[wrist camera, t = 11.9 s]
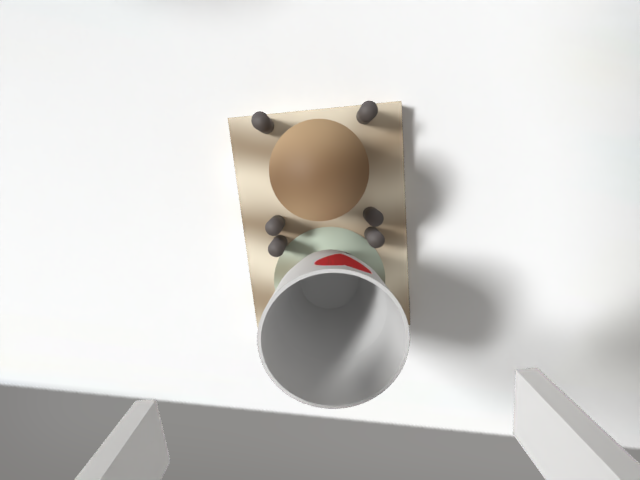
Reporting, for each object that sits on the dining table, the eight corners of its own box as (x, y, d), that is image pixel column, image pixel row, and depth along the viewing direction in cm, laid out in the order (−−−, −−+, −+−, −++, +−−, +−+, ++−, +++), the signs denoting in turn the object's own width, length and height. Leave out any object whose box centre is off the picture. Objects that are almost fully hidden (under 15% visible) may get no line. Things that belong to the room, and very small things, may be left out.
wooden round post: (275, 133, 25) (261, 123, 19) (356, 126, 25) (367, 112, 19) (285, 213, 26) (274, 226, 21) (361, 206, 26) (373, 217, 20)
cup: (398, 275, 27) (441, 333, 18) (335, 344, 29) (341, 434, 19) (322, 212, 26) (323, 236, 17) (260, 287, 28) (226, 351, 18)
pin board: (231, 120, 26) (217, 112, 22) (397, 104, 26) (410, 93, 22) (261, 331, 30) (253, 354, 26) (406, 319, 30) (418, 340, 26)
